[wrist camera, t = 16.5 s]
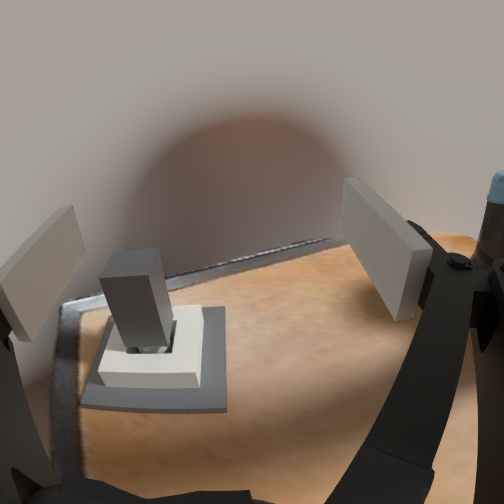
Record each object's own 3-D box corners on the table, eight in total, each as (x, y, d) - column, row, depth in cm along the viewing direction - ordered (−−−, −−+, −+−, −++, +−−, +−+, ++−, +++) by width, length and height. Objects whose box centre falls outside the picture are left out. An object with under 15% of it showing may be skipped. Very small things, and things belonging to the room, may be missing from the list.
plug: (179, 337, 42) (157, 247, 35) (175, 368, 37) (148, 274, 30) (141, 338, 42) (113, 251, 35) (134, 368, 37) (98, 278, 30)
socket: (225, 311, 48) (222, 290, 46) (227, 412, 33) (222, 392, 31) (114, 316, 47) (107, 296, 45) (83, 407, 32) (70, 388, 30)
